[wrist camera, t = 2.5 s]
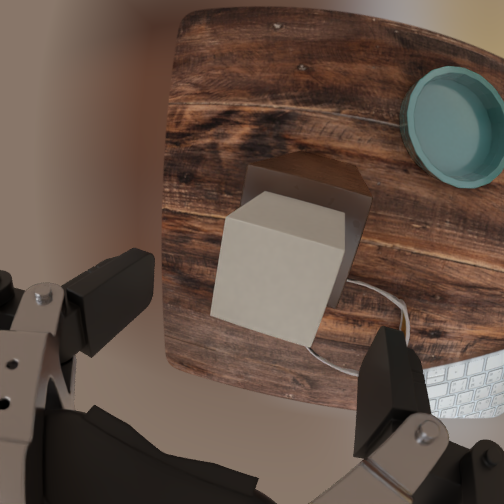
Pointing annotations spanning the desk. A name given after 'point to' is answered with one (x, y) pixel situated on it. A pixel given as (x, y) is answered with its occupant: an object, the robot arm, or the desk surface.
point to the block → (278, 266)
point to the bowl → (454, 127)
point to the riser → (316, 196)
